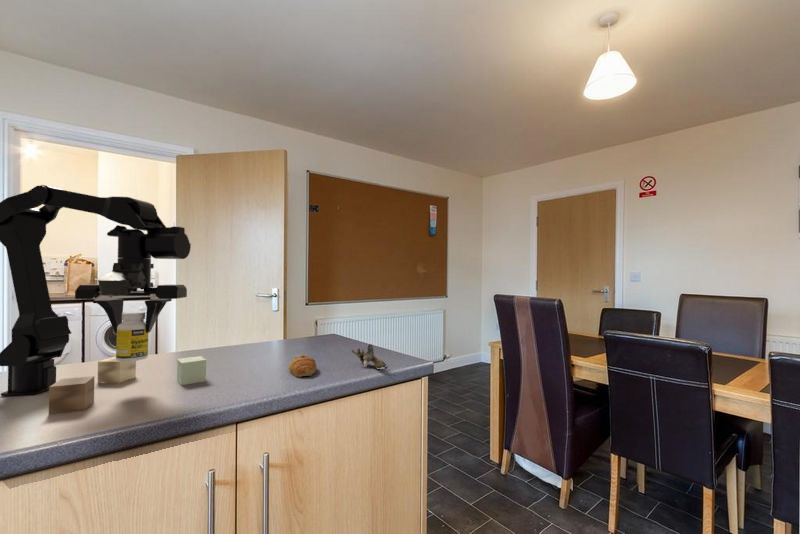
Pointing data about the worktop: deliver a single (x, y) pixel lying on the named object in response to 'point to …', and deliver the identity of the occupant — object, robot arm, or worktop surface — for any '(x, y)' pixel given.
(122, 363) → the maple block
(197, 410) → the worktop surface
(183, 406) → the worktop surface
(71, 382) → the walnut block
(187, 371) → the sage block
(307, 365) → the pastry
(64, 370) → the worktop surface
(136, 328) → the supplement bottle
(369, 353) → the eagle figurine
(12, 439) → the worktop surface
